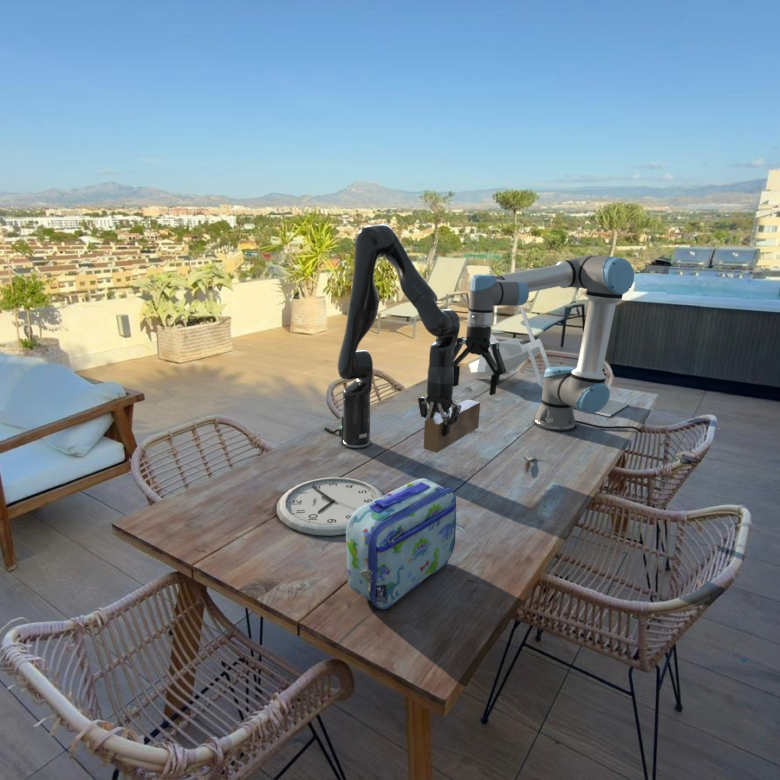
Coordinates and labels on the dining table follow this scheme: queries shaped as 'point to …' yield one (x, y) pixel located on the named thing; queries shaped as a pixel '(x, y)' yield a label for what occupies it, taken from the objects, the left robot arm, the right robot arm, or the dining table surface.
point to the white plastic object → (512, 355)
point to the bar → (451, 427)
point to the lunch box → (400, 540)
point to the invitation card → (611, 408)
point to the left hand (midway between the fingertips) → (437, 433)
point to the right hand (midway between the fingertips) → (473, 390)
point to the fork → (529, 460)
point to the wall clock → (324, 504)
